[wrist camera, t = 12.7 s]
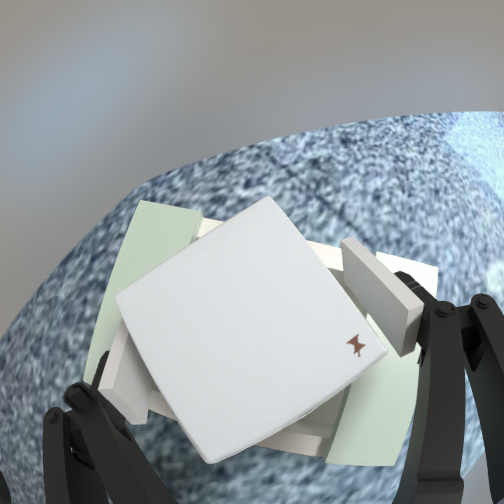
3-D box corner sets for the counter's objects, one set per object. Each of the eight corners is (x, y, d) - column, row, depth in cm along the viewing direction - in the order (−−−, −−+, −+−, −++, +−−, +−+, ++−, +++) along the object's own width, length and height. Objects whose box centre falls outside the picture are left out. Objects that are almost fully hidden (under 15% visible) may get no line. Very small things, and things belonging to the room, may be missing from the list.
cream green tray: (122, 375, 21) (82, 380, 15) (166, 230, 25) (140, 200, 19) (367, 441, 18) (393, 465, 12) (403, 285, 22) (438, 267, 16)
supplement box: (276, 275, 22) (274, 186, 10) (330, 353, 20) (398, 355, 8) (197, 325, 21) (107, 291, 9) (247, 405, 19) (207, 472, 7)
